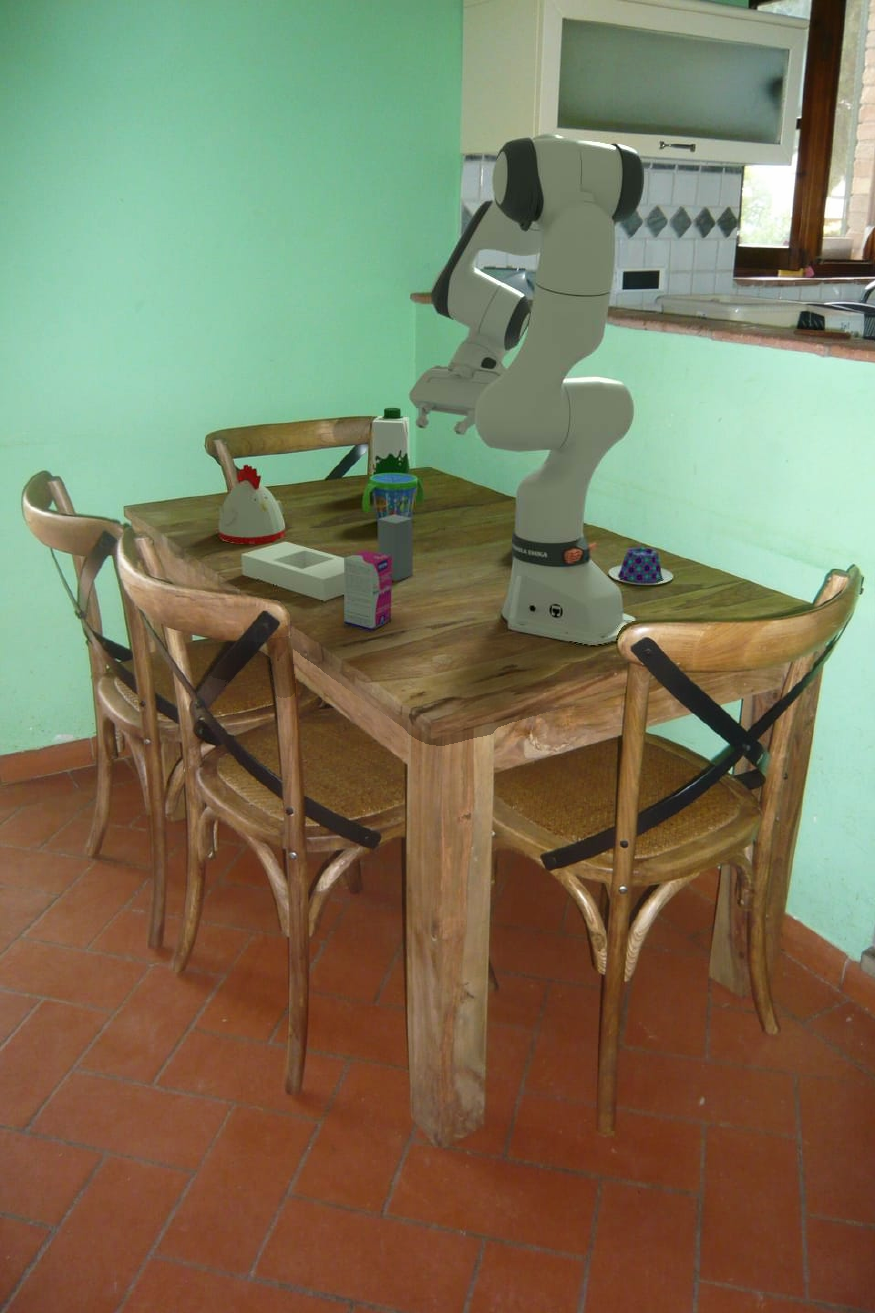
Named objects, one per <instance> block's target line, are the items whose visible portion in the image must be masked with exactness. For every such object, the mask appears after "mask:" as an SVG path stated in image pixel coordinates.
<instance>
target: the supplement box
mask: <svg viewBox="0 0 875 1313" xmlns="http://www.w3.org/2000/svg"><path fill="white" fill-rule="evenodd" d="M343 558H344V594H343V595H344V596H343V598H344V603H343V604H344V605H343V606H344V607H343V608H344V618H343V619H344V621H343V622H344V625H345V624H346V625H345V626H348V625H350V626H349V627H353V626H354V627H355V628H357V629H361V630H365V631H369V632H372V631H375V630H376V629H378V628H379V627H381V626H384V625H385V624H387V623H386V622H388V621H390V622H391V621H392V581H393V580H391V579H392V557H391V556H388V555H383V554H378V553H377V552H373V551H369V550H363V551H362V550H361V551H360V552H357V553H354V554H352V555H349V556H347V557H343ZM384 623H385V624H384ZM388 623H389V622H388Z"/></svg>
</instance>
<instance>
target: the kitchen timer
mask: <svg viewBox="0 0 875 1313" xmlns="http://www.w3.org/2000/svg"><path fill="white" fill-rule="evenodd" d="M257 470H258V469H257V468H253V467H252V465H248V464H244V465H243V467H242V468H240V469H239V472H237V473H236V477H237V480H238V483H237V484H236V485H235V486H234V487H233V488H232V489H231V491H230V492H229V493H228V494H227V496H226V497H225V500H224V501H223V504H222V506H219V508H218V509H219V510H218V513H219V520H218V537H219V536H220V538H222V539H224V540H227V541H229V542H234V543H243V544H257V545H260V544H259V543H265V544H268V543H267V542H270V543H272V542H271V541H275V540H277V539H280V538H282V537H283V538H285V536H286V534H285V533H286V524H285V520H284V516H283V512H284V510H283V505H282V502H281V500H276V498H275V497H274V495H273V494H272V492H271V491H270V490H269V489H268V487H266V486H264V484H262V483H260V482H261V478H262V475H258V471H257ZM220 538H219V539H220ZM283 538H282V539H283ZM280 540H281V539H280ZM277 541H278V540H277ZM275 542H276V541H275Z"/></svg>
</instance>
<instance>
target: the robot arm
mask: <svg viewBox="0 0 875 1313" xmlns="http://www.w3.org/2000/svg"><path fill="white" fill-rule="evenodd" d="M497 153H498V154H497V156H496V159H495V163H494V165H493V167H494V168H493V170H492V178H491V180H492V191H493V197H494V200H486V201H484V202H483V203H482V204H481V205H480V206H479V207H478V208H477V210H476V211H475V212H474V214H473V216H472V217H471V219H470V221H469V222H468V224H467V226H466V228H465V230H464V231H463V233H462V234H461V236H460V238H459V240H458V241H457V243H456V245H455V247H454V249H453V251H452V253H451V255H450V257H449V258H448V260H447V262H446V264H445V265H444V266H443V267H442V268H441V270H440V271H439V272H438V274H437V275H436V277H435V279H434V282H433V284H432V286H431V291H430V296H429V297H430V299H431V303H432V305H433V307H434V310H435V313H437V314H438V315H441V316H443V317H445V318H447V319H450V320H453V321H456V322H457V323H460V324H461V325H463V326H465V327H467V328H469V329H468V333H467V336H466V338H464V340H462V341H461V342H460V344H459V345H458V347H457V349H456V351H455V352H454V354H453V356H452V358H451V359H450V361H449V363H448V365H447V366H441V365H435V366H434V367H431V368H428V369H426V371H424V372H423V373H422V375H421V376H420V377H419V378H418V380H417V381H416V382H415V384H414V385H413V386H412V388H411V390H410V391H409V394H408V395H409V396H408V397H409V400H410V402H411V403H412V404H413V406H414V407H415V408H416V409H418V417H417V418H416V419H415V425H416V427H417V428H420V429H426V428H427V426H428V424H429V419H428V418H427V416H428V415H430V414H431V412H438V413H442V414H443V413H444V414H451V415H457V416H462V417H463V416H464V417H465V418H464V419H463V420H461V421H456V424H455V425H454V428H453V430H454V432H455V434H457V435H461V436H465V434H466V432H467V431H468V429H470V428H471V427H473V426H474V425H475V429H476V431H477V434H478V436H479V437H480V439H481V440H482V442H484V444H486V446H487V447H489V448H491V449H496V450H502V451H503V450H504V451H509V452H517V453H518V452H519V453H520V452H534V451H535V452H536V451H549V452H548V455H547V457H546V459H545V461H544V462H543V463H542V464H541V466H539V468H537V469H536V470H534V471H533V472H531V473H529V474H528V475H526V476H525V477H524V478H523V479H522V480H521V482H520V483H519V485H518V487H517V489H516V494H515V495H516V497H515V515H514V516H515V517H514V518H515V519H514V522H515V523H514V531H512V535H511V548H510V549H511V551H510V552H511V553H510V554H511V558H512V566H511V574H510V579H509V586H508V590H507V594H506V595H507V596H506V598H505V599H506V600H505V601H504V605H503V608H502V610H501V615H502V617H503V618H504V619H505V620H506V622H507V628H508V629H509V630H512V631H515V632H521V633H525V634H530V635H535V636H540V637H545V638H550V639H555V640H560V641H565V642H569V641H573V642H572V643H574V642H578V643H577V644H579V643H583V644H582V645H584V644H588V645H587V646H590V645H594V644H601V643H606V642H609V641H613V642H616V641H617V640H616V638H617V635H618V633H619V631H620V630H621V628H622V627H623V626H624V625H626V624H628V623H631V622H632V621H636V618H635V617H634V616H632V615H630V614H627V613H626V612H625V613H624V605H623V598H622V597H623V596H622V592H621V590H620V588H619V586H618V585H617V584H616V583H614V581H613V580H611V579H610V577H608V576H607V575H606V573H604V571H602V569H601V568H600V567H599V566H598V565H597V564H596V563H595V562H594V561H593V560H592V559H591V558H592V556H591V552H592V551H594V550H596V549H597V547H595V546H596V545H597V542H593V543H592V542H591V543H589V544H588V542H587V539H586V536H585V534H584V533H583V531H584V521H585V512H586V511H585V510H586V502H587V495H588V490H589V486H590V484H591V481H592V478H593V476H594V473H595V472H596V469H597V468H598V466H599V464H600V463H601V461H602V460H603V458H605V456H606V455H607V454H608V452H609V451H610V449H612V448H613V447H614V446H615V445H616V444H617V443H619V442H620V441H622V440H623V438H624V437H625V436H626V435H627V433H628V432H629V430H630V428H631V427H632V423H633V421H634V416H635V415H634V414H635V406H634V400H633V397H632V394H631V392H630V391H629V389H628V388H627V386H626V385H625V383H623V382H622V381H621V380H616V379H613V378H612V379H611V378H607V377H601V376H595V375H580V376H567V375H568V374H569V372H571V370H572V369H573V368H574V366H576V365H577V364H578V363H579V362H581V361H582V360H584V359H587V357H589V356H590V355H592V354H593V353H594V352H596V350H598V348H599V347H600V345H601V343H602V341H603V340H604V336H605V329H606V323H607V319H608V318H607V317H608V312H609V305H610V300H611V295H612V294H611V293H612V287H613V282H614V281H613V280H614V273H615V272H614V271H615V262H616V260H615V259H616V227H615V223H621V222H625V221H627V220H629V219H630V218H631V217H632V216H633V214H634V213H635V211H636V210H637V209H638V207H639V205H640V204H641V203H640V202H641V200H642V196H643V192H644V186H645V185H644V184H645V169H644V164H643V161H642V159H641V157H640V155H639V153H638V152H637V151H636V150H635V149H634V148H631V147H629V146H626V145H623V144H621V143H614V142H613V143H612V144H608V143H607V144H606V143H602V142H597V141H589V140H584V139H583V140H580V139H575V138H573V137H563V136H561V135H558V134H553V133H544V134H543V133H542V134H540V135H536V136H534V137H533V138H531V137H522V138H516V139H513V140H510V141H507V142H505V143H504V145H503V146H502V147H501V148H500V150H499V152H497ZM485 250H487V251H496V252H501V253H506V254H510V255H513V256H520V257H527V256H533V255H534V256H535V255H538V254H539V258H538V263H537V269H536V274H535V275H536V276H535V282H534V291H533V298H532V305H531V304H530V302H529V299H528V297H527V296H526V294H524V293H523V292H521V291H519V290H518V289H516V288H513V287H512V286H510V285H508V284H507V283H505V282H502V281H500V280H498V279H496V278H494V277H492V276H491V275H489V274H487V273H485V272H483V271H481V270H479V269H478V268H477V267H476V266H475V265H474V264H473V263H474V261H475V260H476V259H477V256H478V254H479V253H480V251H485ZM525 332H526V333H525ZM524 334H525V337H524V340H523V342H522V345H521V347H520V348H519V351H518V352H517V354H516V356H515V358H513V360H512V362H511V363H510V365H508V367H507V368H506V367H505V365H504V364H503V360H504V358H505V357H506V356H507V355H508V354H509V353H510V351H511V350H512V349H514V348H515V347H518V344H519V342H520V341H521V339H522V337H523V335H524Z"/></svg>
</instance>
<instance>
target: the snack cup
mask: <svg viewBox="0 0 875 1313" xmlns="http://www.w3.org/2000/svg"><path fill="white" fill-rule="evenodd" d="M368 481H369V483H368V484H367V485H366V487H365V489H364V491H363V495H362V501H361V504H362V505H361V506H362V511H364V512H365V513H366V514H371V498H370V497H371V495H370V494H372V498H373V507H374V511H375V512H374V513H375V518H376V521H377V522H378V519H380V518H383V517H387V516H390V515H394V514H395V515H399V516H404V517H408V518H412V514H413V508H414V500H415V501H416V503H418V504H423V503H424V500H425V493H424V492H425V490H424V487H423V484H422V481H421V480H420V479H419V478H418V477H417V475H413V474H404V473H382V474H376V475H373V474H372V475H371V476H370V477H369V480H368ZM416 488H417V490H416ZM415 491H416V492H415ZM415 493H416V496H415Z"/></svg>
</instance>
